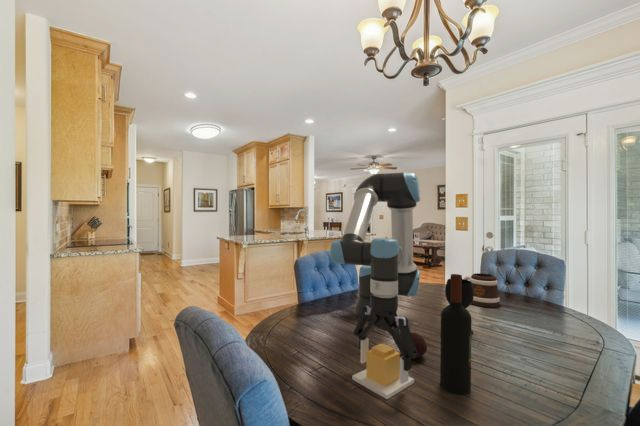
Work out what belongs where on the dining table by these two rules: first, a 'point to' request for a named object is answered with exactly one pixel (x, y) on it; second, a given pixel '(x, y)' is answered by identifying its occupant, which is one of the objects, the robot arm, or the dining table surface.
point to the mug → (484, 290)
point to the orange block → (383, 364)
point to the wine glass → (466, 293)
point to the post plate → (378, 388)
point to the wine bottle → (455, 343)
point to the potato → (419, 344)
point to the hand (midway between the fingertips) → (383, 371)
